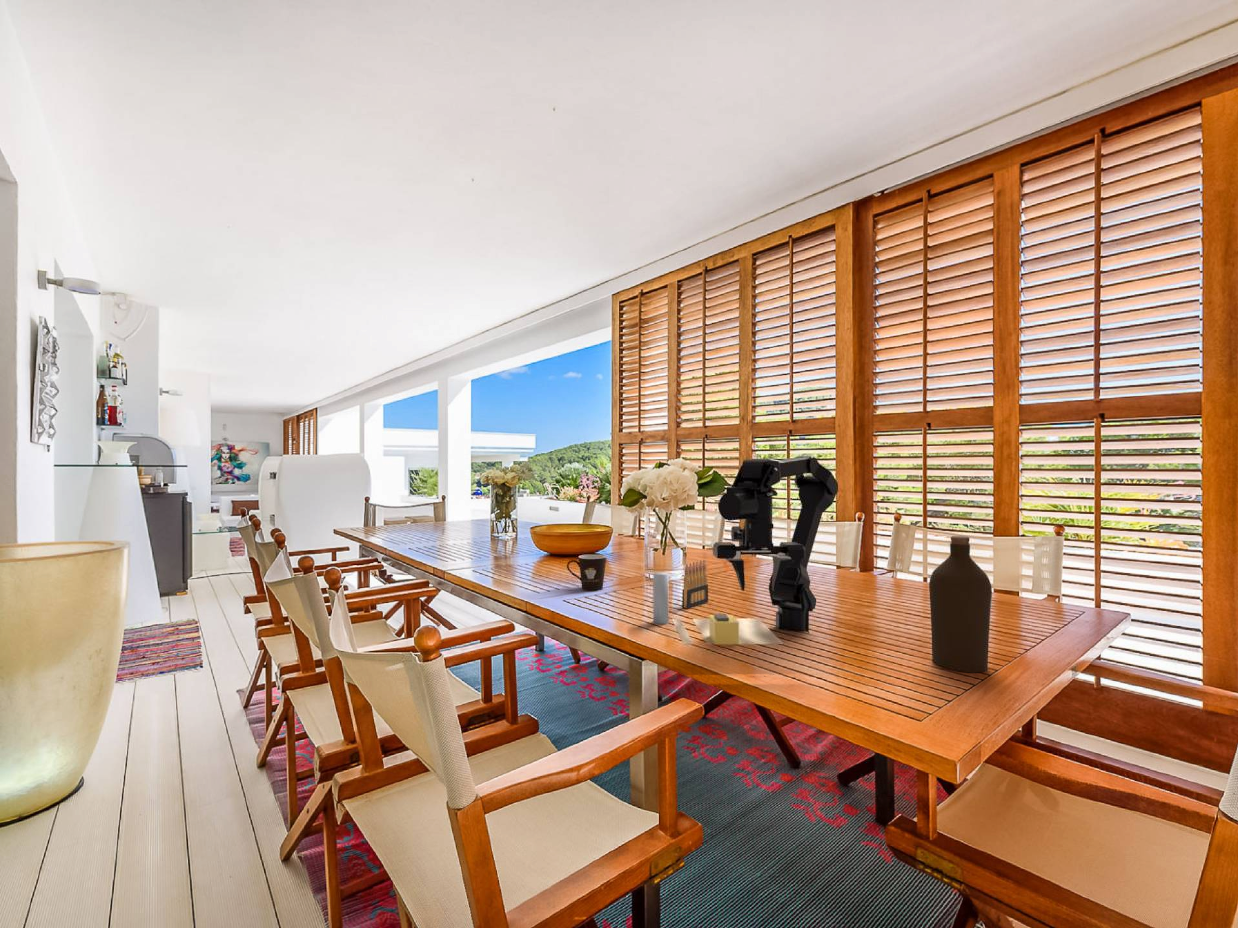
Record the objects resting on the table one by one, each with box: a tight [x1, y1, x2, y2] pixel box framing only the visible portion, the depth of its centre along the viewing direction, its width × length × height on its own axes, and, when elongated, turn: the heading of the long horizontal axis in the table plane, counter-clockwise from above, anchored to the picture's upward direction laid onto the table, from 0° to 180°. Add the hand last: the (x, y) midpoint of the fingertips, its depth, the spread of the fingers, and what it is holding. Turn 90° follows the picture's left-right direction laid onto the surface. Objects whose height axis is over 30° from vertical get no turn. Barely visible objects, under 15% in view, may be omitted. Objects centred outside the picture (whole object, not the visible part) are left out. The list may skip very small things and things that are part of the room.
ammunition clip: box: [681, 559, 709, 610], centre depth 163 cm, size 11×2×12 cm, turn 140°
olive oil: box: [928, 535, 993, 673], centre depth 115 cm, size 11×11×25 cm
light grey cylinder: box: [652, 571, 670, 626], centre depth 139 cm, size 4×4×13 cm
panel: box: [671, 617, 784, 646], centre depth 133 cm, size 21×20×2 cm
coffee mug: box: [566, 554, 607, 592], centre depth 184 cm, size 12×9×10 cm
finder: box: [709, 613, 740, 645], centre depth 126 cm, size 5×6×5 cm
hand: (758, 590), depth 126 cm, fingers open, 6 cm apart
